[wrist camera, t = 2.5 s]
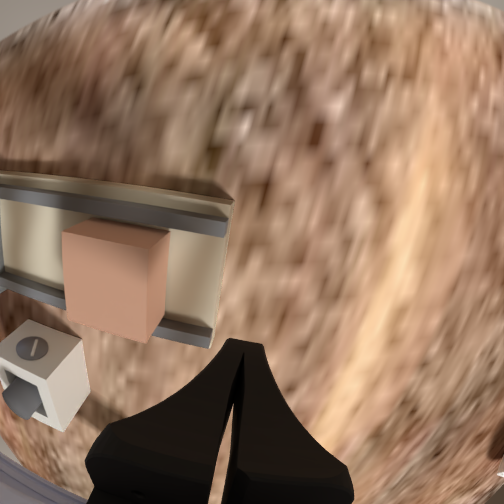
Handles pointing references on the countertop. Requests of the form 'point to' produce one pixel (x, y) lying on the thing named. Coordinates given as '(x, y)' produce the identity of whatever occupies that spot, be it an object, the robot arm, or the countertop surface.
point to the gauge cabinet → (47, 370)
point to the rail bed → (121, 210)
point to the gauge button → (22, 397)
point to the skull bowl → (501, 468)
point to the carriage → (115, 276)
